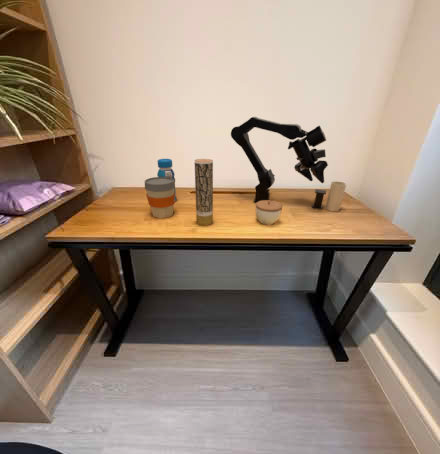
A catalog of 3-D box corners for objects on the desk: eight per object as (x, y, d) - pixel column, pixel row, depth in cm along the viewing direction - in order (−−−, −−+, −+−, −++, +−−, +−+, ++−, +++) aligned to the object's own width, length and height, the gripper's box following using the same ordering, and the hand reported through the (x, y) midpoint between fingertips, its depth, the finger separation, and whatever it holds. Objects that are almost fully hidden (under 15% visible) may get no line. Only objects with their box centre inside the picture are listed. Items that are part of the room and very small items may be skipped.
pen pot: (325, 210, 119) (331, 184, 113) (325, 205, 124) (331, 180, 118) (339, 212, 117) (346, 185, 111) (339, 207, 122) (346, 182, 116)
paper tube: (206, 227, 101) (206, 163, 89) (193, 223, 104) (190, 160, 92) (215, 221, 106) (216, 160, 94) (202, 217, 109) (201, 158, 97)
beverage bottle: (157, 202, 125) (152, 161, 115) (163, 197, 132) (159, 157, 122) (173, 204, 123) (170, 162, 114) (178, 198, 131) (176, 158, 121)
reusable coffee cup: (142, 216, 109) (137, 182, 102) (158, 207, 119) (154, 175, 112) (168, 221, 105) (164, 186, 98) (181, 211, 116) (179, 178, 108)
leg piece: (311, 208, 121) (315, 192, 117) (312, 204, 125) (315, 189, 121) (322, 209, 120) (325, 193, 116) (322, 206, 124) (326, 190, 120)
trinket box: (282, 227, 102) (285, 205, 97) (255, 226, 102) (257, 205, 97) (277, 217, 111) (280, 196, 107) (253, 216, 111) (254, 196, 107)
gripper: (331, 140, 102) (344, 172, 108) (306, 142, 119) (319, 170, 125) (308, 156, 103) (323, 188, 109) (287, 156, 120) (301, 183, 126)
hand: (317, 181), depth 117 cm, fingers open, 9 cm apart
